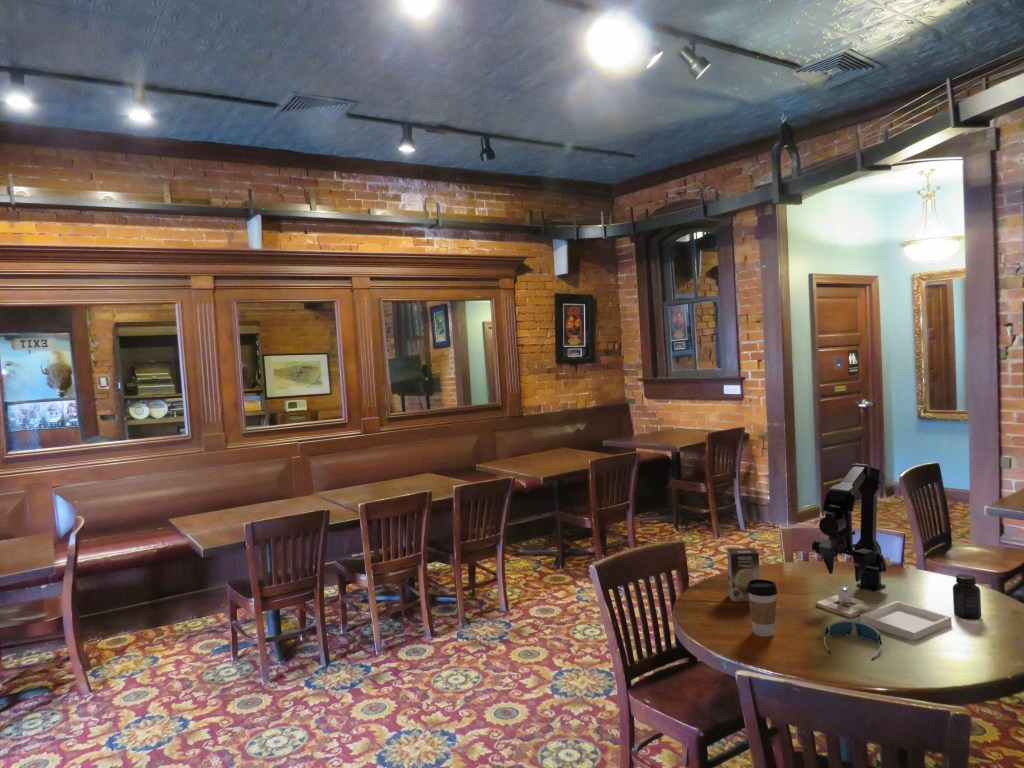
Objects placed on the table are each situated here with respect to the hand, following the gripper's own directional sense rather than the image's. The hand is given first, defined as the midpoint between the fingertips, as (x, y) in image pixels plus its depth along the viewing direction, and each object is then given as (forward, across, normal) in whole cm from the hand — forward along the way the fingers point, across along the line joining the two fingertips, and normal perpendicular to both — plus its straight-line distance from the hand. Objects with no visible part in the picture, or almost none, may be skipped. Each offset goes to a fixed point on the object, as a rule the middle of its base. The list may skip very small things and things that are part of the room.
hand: (843, 577), depth 214 cm
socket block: (+10, 0, 0) cm, 10 cm away
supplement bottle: (+10, +25, +21) cm, 34 cm away
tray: (+10, +18, +2) cm, 20 cm away
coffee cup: (+10, -2, -34) cm, 35 cm away
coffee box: (+10, -24, -18) cm, 32 cm away
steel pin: (+10, 0, 0) cm, 10 cm away
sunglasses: (+10, +18, -22) cm, 30 cm away
